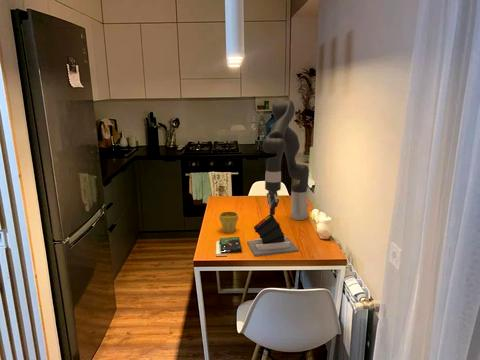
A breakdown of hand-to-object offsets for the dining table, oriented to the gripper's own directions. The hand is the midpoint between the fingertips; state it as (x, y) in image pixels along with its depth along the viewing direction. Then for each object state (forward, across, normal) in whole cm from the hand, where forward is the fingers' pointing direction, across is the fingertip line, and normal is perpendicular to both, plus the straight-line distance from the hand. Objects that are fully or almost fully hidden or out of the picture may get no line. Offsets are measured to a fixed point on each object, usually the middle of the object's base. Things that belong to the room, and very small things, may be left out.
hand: (272, 214), depth 181 cm
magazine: (+16, 0, 0) cm, 16 cm away
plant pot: (+18, +28, +16) cm, 37 cm away
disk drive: (+19, +6, +20) cm, 28 cm away
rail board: (+18, +1, -1) cm, 18 cm away
